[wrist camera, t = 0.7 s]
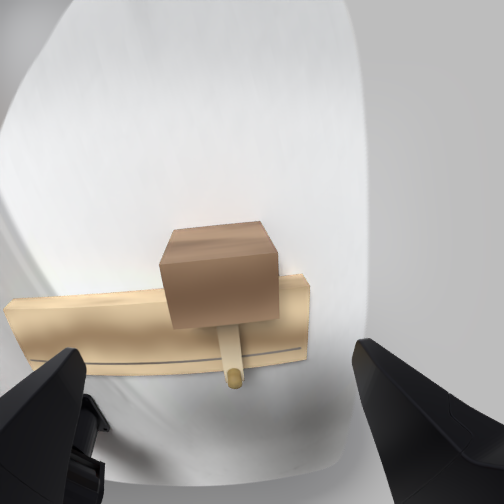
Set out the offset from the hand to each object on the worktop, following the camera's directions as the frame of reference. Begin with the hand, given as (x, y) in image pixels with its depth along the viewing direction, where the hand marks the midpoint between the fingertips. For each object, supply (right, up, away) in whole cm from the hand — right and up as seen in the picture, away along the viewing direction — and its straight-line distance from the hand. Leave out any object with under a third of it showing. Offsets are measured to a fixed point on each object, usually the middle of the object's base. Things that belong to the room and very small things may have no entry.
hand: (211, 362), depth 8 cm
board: (-8, -3, +14) cm, 16 cm away
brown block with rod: (-1, 0, +14) cm, 14 cm away
